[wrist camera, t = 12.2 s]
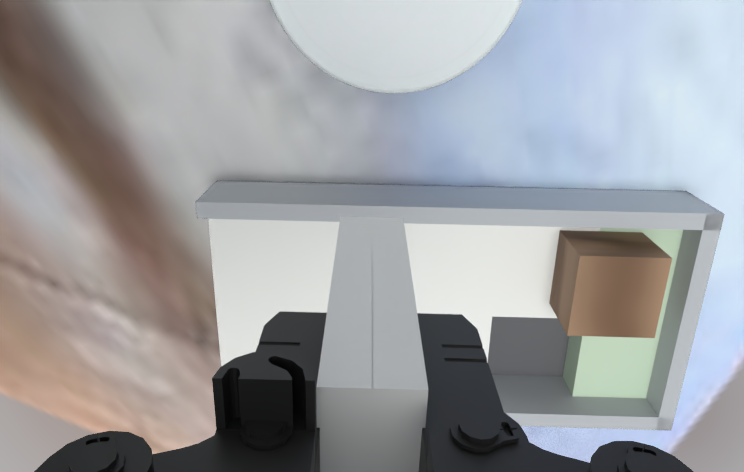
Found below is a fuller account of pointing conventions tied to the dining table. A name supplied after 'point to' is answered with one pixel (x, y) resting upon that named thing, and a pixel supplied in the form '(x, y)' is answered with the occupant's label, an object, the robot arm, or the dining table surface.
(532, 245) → the box
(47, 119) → the dining table surface
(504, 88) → the dining table surface
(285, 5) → the supplement tub
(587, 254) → the walnut block
